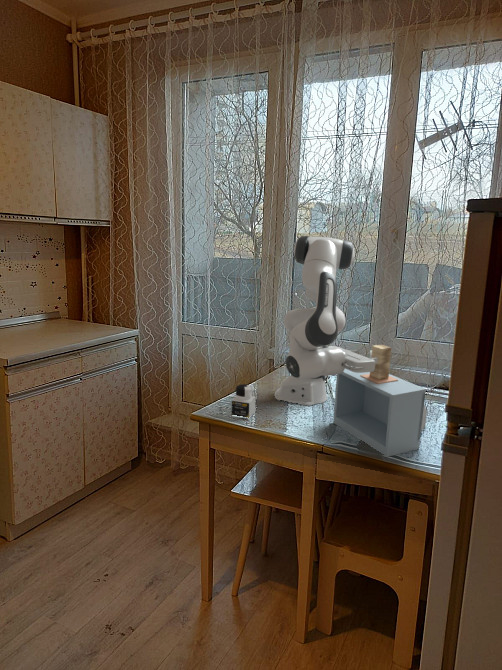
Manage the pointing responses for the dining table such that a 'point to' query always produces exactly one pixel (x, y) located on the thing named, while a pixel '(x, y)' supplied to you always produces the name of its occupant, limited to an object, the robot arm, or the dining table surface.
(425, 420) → the tea bag
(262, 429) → the dining table surface
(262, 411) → the dining table surface
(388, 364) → the oak block
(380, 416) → the cubby
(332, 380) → the dining table surface
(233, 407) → the medicine bottle
